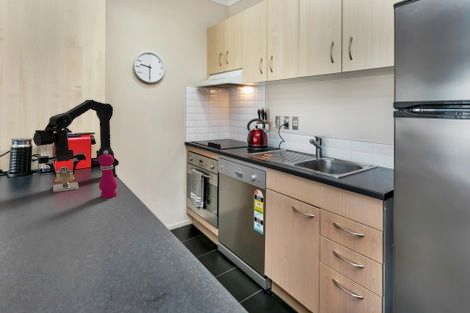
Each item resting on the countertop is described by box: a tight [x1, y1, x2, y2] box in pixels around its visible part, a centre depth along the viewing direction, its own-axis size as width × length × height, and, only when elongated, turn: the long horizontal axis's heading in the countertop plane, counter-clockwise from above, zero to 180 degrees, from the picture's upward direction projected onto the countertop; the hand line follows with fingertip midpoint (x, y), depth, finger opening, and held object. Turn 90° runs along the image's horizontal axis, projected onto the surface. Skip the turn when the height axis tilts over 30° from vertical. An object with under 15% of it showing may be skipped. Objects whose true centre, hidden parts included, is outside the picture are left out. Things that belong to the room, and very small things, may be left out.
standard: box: [52, 166, 80, 193], centre depth 131 cm, size 10×10×10 cm
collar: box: [55, 169, 75, 181], centre depth 131 cm, size 7×7×3 cm
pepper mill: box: [97, 150, 118, 199], centre depth 119 cm, size 7×7×20 cm
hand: (64, 176), depth 131 cm, fingers closed on collar, 7 cm apart
